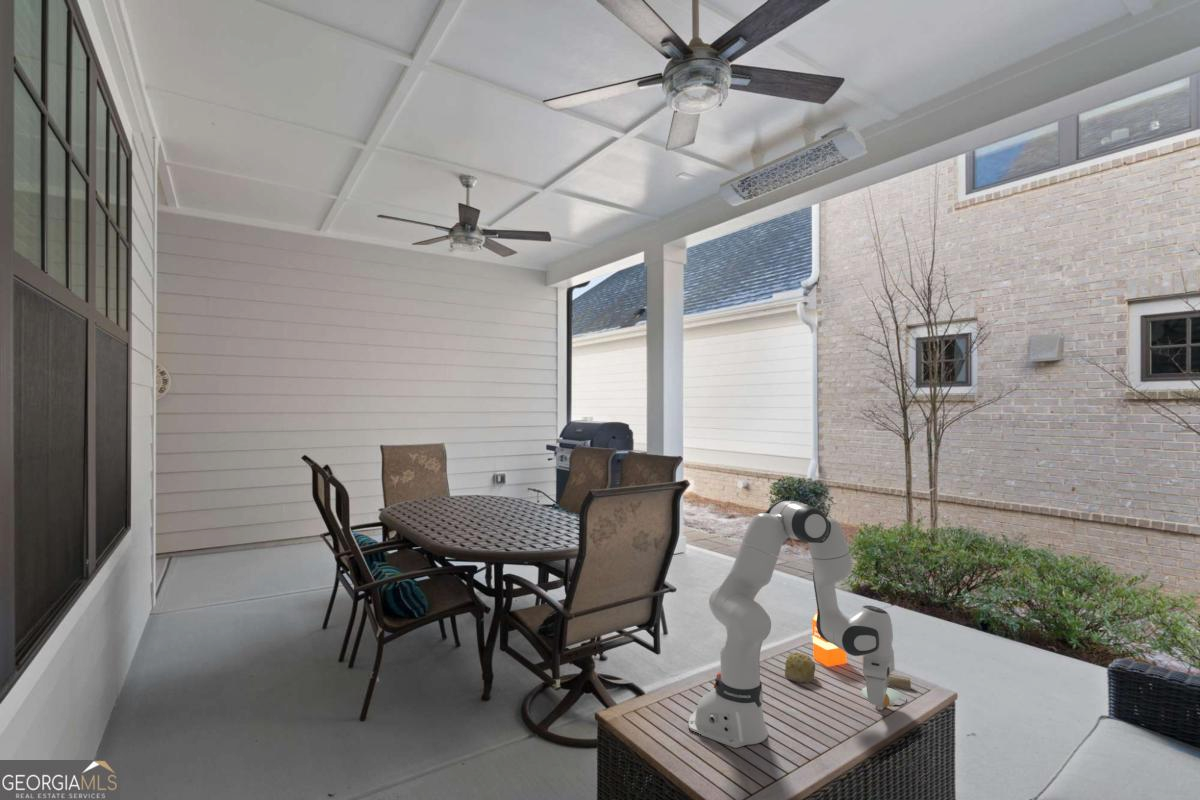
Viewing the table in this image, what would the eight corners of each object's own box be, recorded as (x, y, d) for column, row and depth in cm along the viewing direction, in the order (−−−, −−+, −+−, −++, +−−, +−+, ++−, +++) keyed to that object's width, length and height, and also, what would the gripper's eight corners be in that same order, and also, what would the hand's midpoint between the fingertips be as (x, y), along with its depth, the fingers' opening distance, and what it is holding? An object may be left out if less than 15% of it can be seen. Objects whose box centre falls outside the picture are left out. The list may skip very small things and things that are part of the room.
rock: (800, 680, 193) (785, 652, 197) (825, 672, 186) (809, 644, 190) (788, 692, 186) (772, 663, 190) (814, 684, 180) (798, 655, 183)
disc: (860, 700, 171) (860, 699, 171) (862, 683, 182) (862, 682, 183) (907, 709, 165) (907, 708, 165) (906, 691, 176) (906, 690, 176)
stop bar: (910, 689, 177) (910, 680, 178) (863, 679, 185) (863, 670, 185) (910, 687, 179) (910, 678, 179) (864, 677, 187) (864, 668, 187)
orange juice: (813, 658, 203) (811, 604, 204) (832, 655, 206) (830, 602, 207) (827, 666, 196) (825, 611, 197) (847, 663, 198) (844, 608, 200)
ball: (871, 685, 168) (874, 691, 171) (869, 701, 165) (871, 707, 168) (889, 690, 165) (891, 696, 168) (887, 706, 162) (889, 713, 165)
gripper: (871, 647, 174) (873, 690, 173) (861, 671, 157) (864, 719, 156) (893, 651, 171) (895, 695, 170) (885, 676, 154) (888, 725, 153)
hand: (880, 707), depth 163 cm, fingers closed
